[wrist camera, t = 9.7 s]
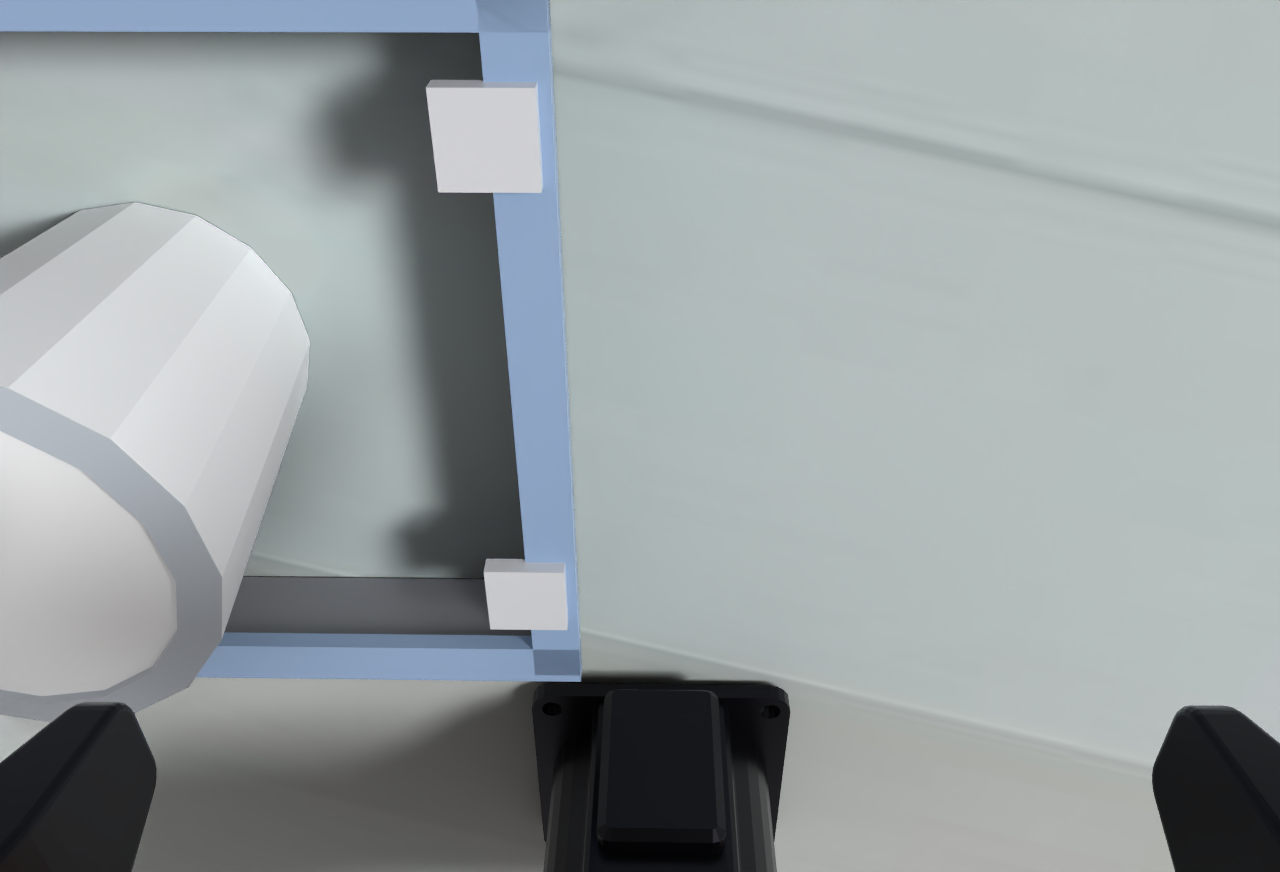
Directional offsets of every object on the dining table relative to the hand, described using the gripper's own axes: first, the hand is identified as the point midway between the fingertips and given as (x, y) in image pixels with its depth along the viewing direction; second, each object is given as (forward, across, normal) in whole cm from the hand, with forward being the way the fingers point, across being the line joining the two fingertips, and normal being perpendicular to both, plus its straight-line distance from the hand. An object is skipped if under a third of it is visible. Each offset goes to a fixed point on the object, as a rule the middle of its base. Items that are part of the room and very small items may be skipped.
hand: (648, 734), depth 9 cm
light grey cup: (+12, +10, +3) cm, 16 cm away
